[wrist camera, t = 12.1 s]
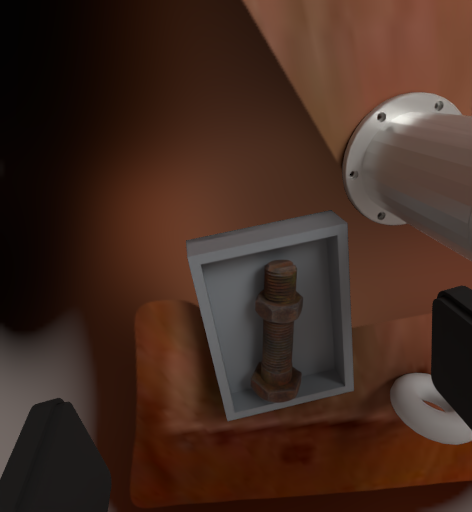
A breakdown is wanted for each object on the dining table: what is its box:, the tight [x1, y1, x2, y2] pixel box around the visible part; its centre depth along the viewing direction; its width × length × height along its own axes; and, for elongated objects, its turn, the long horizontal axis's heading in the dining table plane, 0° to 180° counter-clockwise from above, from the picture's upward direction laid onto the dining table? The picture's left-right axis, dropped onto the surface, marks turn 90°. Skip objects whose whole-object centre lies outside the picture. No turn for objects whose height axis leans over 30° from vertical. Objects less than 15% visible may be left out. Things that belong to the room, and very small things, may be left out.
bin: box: [186, 210, 354, 421], centre depth 41 cm, size 15×21×4 cm
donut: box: [390, 373, 472, 445], centre depth 45 cm, size 10×4×10 cm, turn 85°
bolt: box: [251, 260, 303, 403], centre depth 39 cm, size 6×5×15 cm
